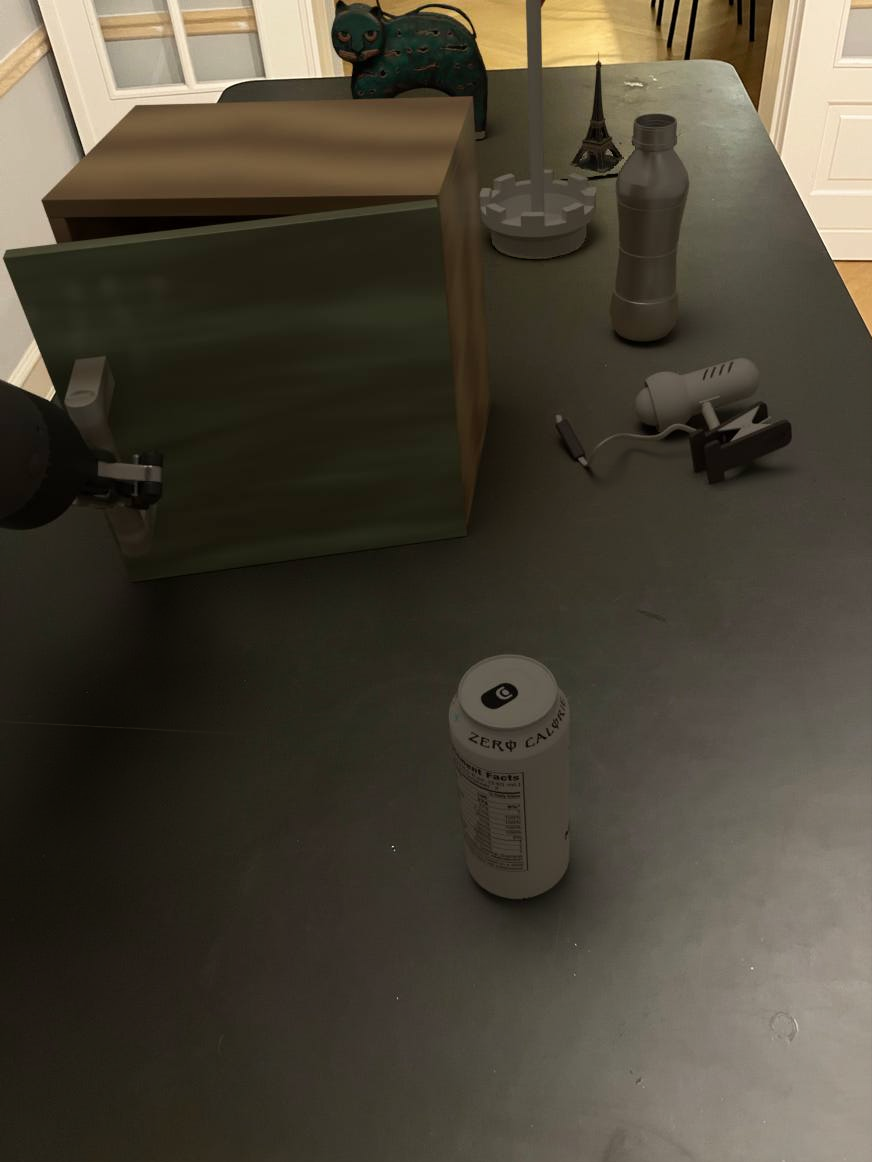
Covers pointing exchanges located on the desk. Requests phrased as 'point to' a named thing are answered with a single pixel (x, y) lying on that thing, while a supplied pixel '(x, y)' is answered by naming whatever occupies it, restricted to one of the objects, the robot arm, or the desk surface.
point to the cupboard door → (260, 381)
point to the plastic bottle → (649, 231)
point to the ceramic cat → (410, 54)
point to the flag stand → (537, 182)
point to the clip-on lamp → (701, 392)
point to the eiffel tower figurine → (597, 137)
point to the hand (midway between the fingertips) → (125, 493)
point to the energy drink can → (512, 774)
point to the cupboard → (300, 193)
